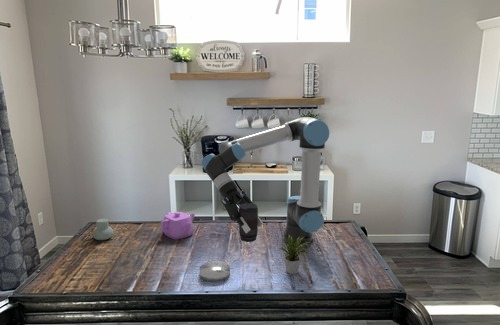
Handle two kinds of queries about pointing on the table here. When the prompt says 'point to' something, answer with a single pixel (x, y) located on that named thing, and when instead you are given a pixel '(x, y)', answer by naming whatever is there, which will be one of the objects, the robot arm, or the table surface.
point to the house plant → (293, 255)
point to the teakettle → (177, 225)
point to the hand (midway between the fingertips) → (254, 228)
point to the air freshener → (102, 230)
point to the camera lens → (249, 221)
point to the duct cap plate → (214, 271)
